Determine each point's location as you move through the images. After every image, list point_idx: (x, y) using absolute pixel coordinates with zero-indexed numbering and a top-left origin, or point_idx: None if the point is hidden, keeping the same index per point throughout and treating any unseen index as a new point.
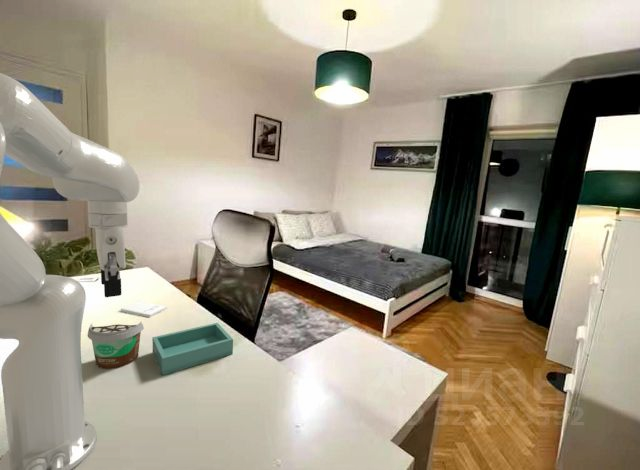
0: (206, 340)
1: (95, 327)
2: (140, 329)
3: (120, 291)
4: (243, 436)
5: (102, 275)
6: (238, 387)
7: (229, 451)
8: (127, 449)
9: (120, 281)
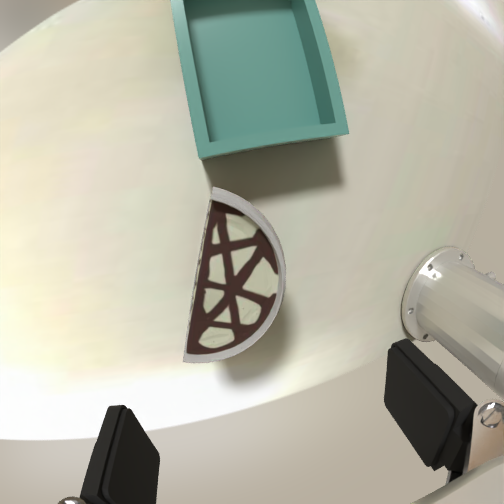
0: (205, 17)
1: (194, 345)
2: (237, 197)
3: (417, 352)
4: (488, 73)
5: (154, 501)
6: (410, 24)
7: (500, 98)
8: (471, 205)
9: (462, 393)
